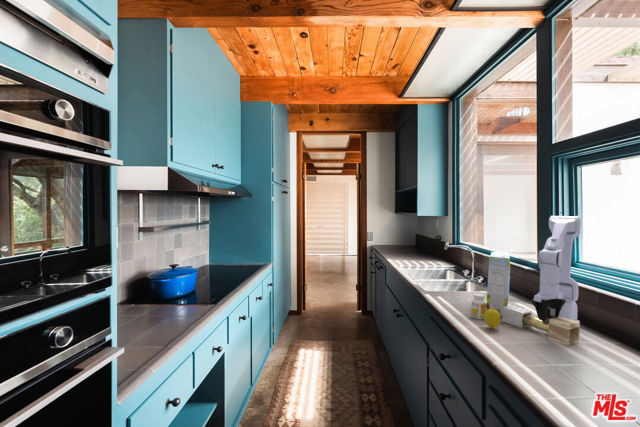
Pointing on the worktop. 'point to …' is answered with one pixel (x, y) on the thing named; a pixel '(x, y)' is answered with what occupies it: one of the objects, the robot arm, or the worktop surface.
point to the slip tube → (538, 323)
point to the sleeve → (515, 315)
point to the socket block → (564, 330)
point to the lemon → (492, 318)
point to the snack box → (498, 281)
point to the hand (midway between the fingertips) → (548, 318)
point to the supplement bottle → (478, 306)
